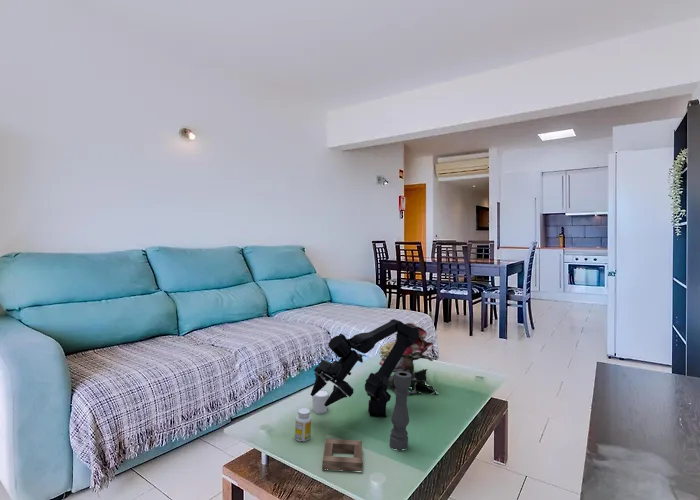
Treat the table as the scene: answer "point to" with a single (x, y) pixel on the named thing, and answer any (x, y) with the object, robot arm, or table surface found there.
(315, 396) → the shot glass
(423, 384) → the rose bouquet
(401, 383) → the candle holder
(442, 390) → the table surface
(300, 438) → the supplement bottle
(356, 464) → the socket block
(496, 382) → the table surface
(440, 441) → the table surface
